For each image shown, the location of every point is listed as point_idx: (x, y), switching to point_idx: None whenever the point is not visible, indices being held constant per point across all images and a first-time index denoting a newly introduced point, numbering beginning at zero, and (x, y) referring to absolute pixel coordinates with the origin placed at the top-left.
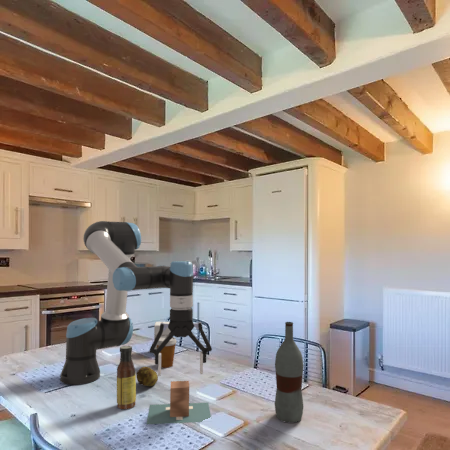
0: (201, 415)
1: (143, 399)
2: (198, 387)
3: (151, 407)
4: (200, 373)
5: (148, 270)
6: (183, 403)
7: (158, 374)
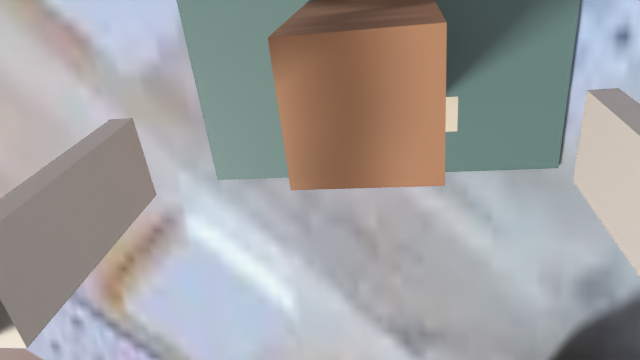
0: (233, 14)
1: (592, 243)
2: (290, 347)
3: (548, 133)
4: (131, 126)
5: None
6: (334, 10)
7: (621, 95)
